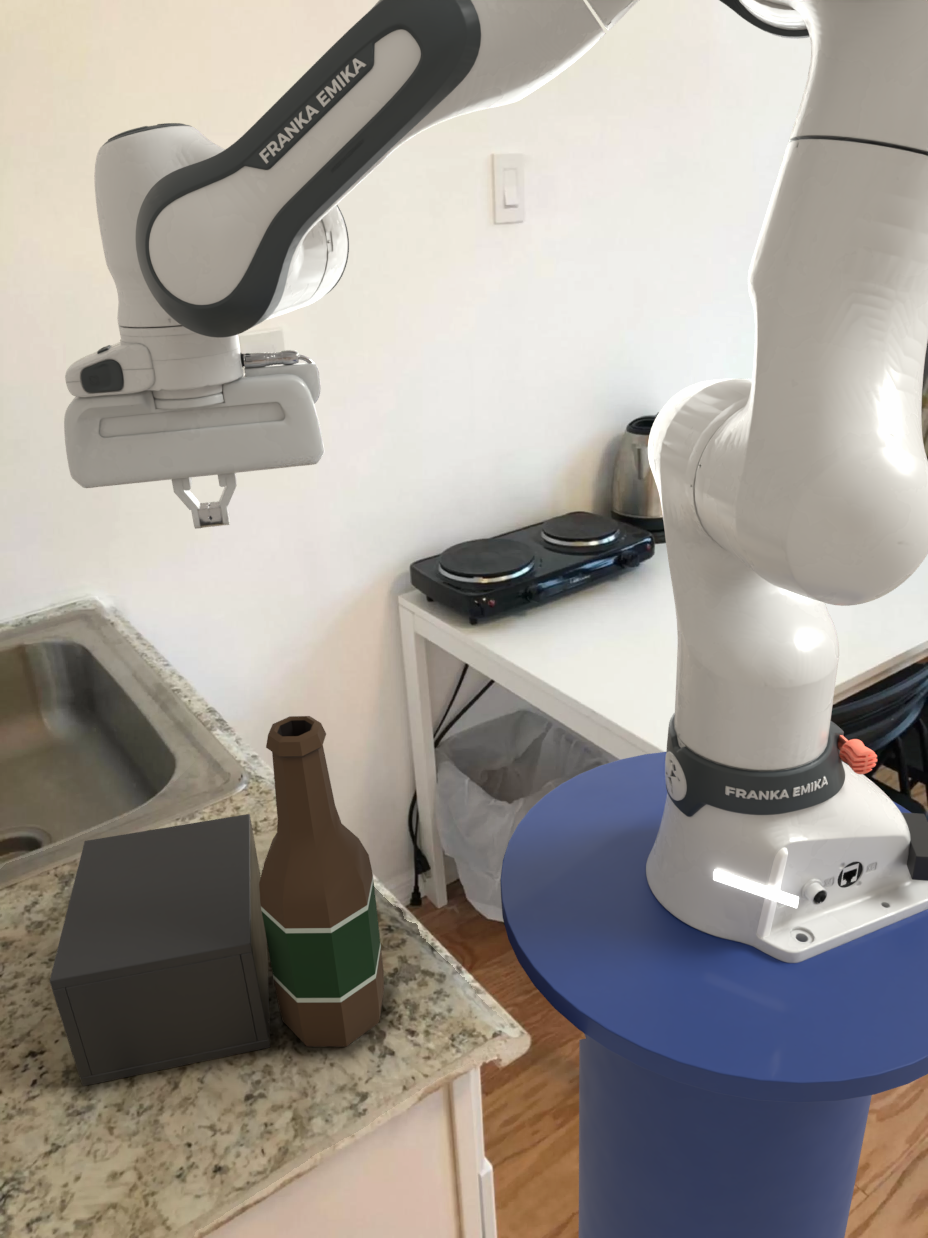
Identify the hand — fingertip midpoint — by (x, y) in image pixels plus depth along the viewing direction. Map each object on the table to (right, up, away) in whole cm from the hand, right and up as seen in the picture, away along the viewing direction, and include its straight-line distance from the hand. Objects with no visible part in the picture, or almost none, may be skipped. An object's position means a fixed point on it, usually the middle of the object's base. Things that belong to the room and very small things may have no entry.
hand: (212, 525), depth 79 cm
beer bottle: (+12, -37, -11) cm, 40 cm away
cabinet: (0, -36, -9) cm, 37 cm away
